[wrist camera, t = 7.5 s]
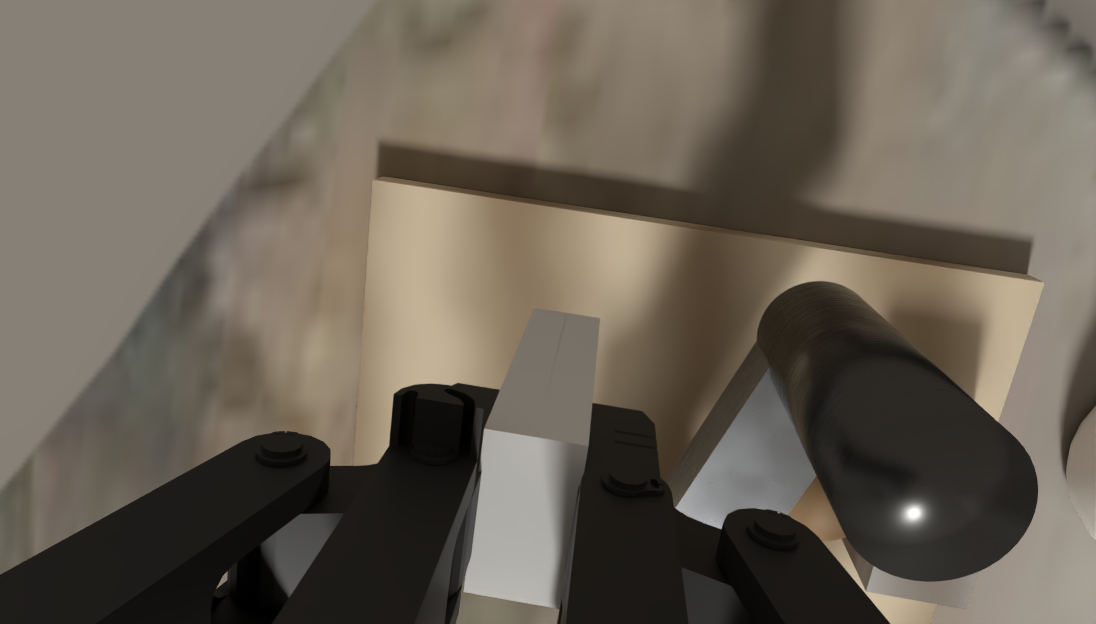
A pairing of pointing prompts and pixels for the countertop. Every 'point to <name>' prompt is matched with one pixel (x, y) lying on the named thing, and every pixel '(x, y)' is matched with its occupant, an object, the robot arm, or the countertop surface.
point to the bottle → (1084, 472)
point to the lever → (860, 442)
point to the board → (651, 317)
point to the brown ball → (817, 513)
